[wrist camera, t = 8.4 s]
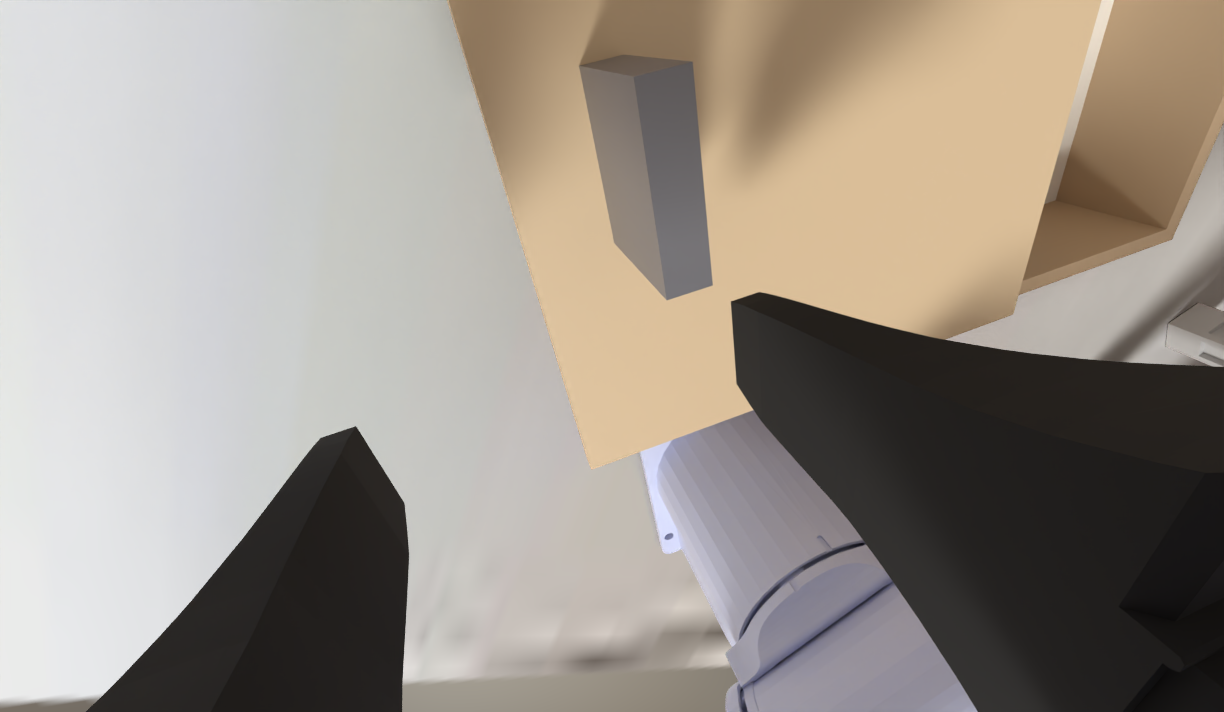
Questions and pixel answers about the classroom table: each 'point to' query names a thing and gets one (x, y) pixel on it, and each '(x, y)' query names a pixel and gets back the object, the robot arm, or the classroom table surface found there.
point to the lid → (763, 175)
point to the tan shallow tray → (1132, 135)
